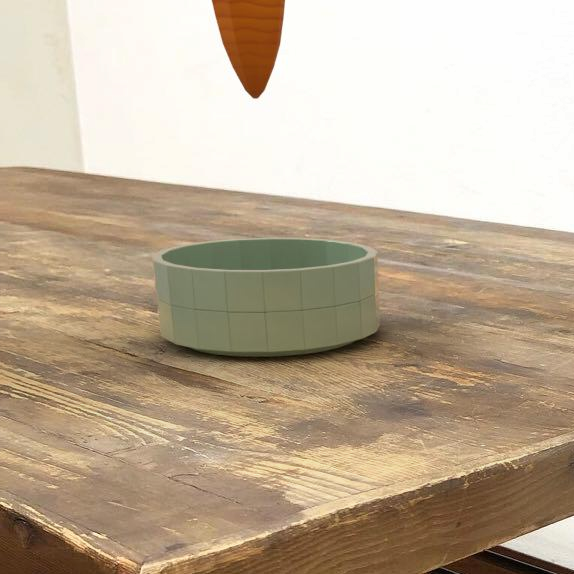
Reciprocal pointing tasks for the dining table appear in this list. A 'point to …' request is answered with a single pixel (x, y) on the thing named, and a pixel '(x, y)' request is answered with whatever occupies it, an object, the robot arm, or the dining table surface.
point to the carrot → (251, 38)
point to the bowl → (267, 295)
